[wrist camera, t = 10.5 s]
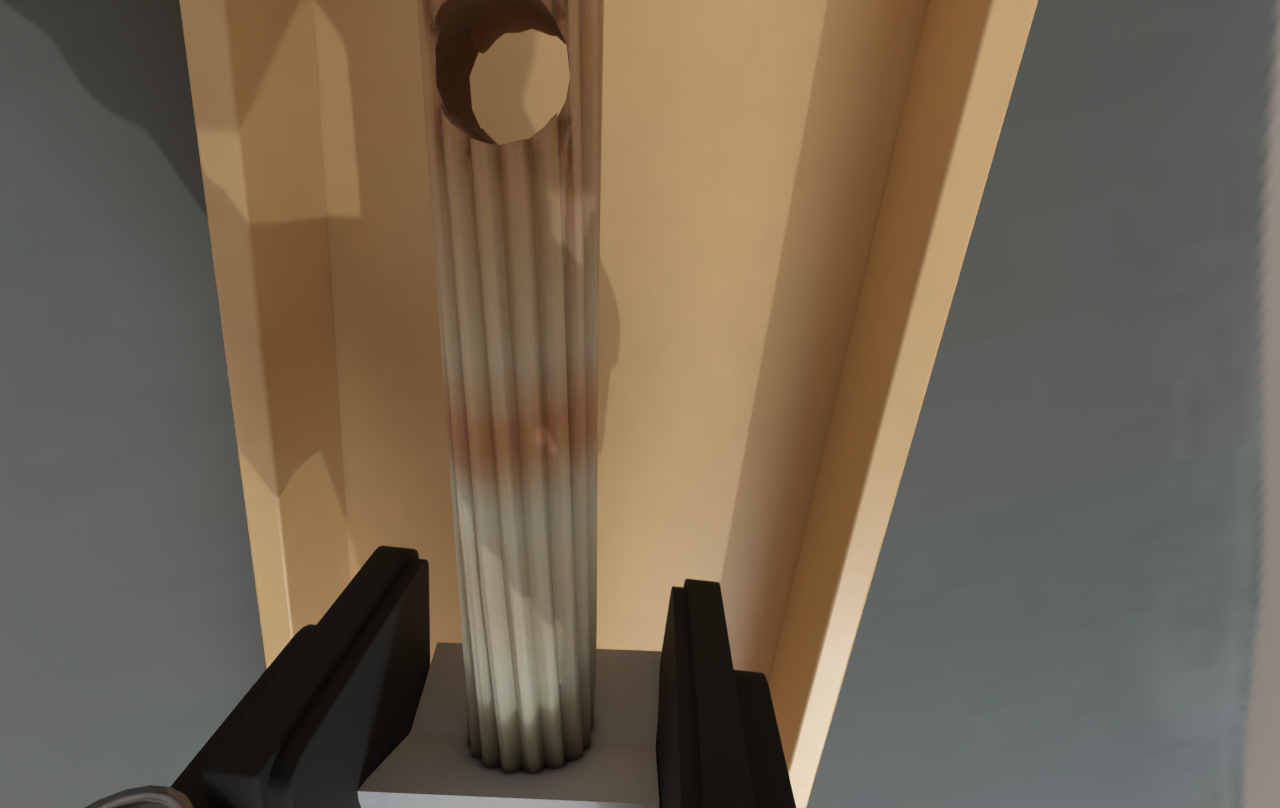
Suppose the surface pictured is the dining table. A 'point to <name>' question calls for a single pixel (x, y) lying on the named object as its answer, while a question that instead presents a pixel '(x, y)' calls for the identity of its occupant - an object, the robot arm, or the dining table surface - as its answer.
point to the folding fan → (521, 449)
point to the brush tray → (610, 296)
